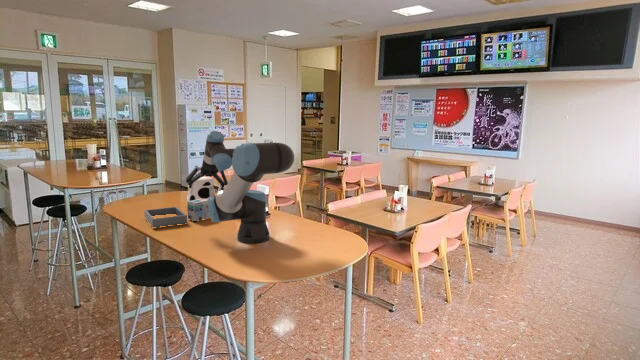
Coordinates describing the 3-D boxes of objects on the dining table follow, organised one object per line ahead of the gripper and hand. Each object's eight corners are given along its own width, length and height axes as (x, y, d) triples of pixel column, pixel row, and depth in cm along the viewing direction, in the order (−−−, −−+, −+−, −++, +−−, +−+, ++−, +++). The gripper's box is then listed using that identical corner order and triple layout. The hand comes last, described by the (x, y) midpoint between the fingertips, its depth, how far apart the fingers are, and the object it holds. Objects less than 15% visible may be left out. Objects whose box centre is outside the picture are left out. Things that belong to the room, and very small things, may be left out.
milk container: (185, 204, 248) (184, 177, 245) (213, 202, 256) (212, 175, 253) (188, 210, 233) (187, 181, 230) (218, 208, 240) (217, 180, 237)
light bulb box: (194, 222, 209) (194, 203, 207) (187, 220, 213) (186, 201, 211) (211, 218, 217) (210, 199, 215) (203, 216, 221) (203, 198, 219)
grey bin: (187, 224, 205) (186, 215, 204) (152, 229, 195) (152, 219, 194) (176, 215, 223) (176, 206, 222) (144, 218, 213) (144, 210, 212)
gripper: (236, 158, 194) (229, 190, 206) (183, 153, 184) (179, 186, 196) (237, 167, 188) (230, 199, 200) (183, 162, 179) (179, 196, 191)
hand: (205, 193), depth 198 cm, fingers open, 13 cm apart
